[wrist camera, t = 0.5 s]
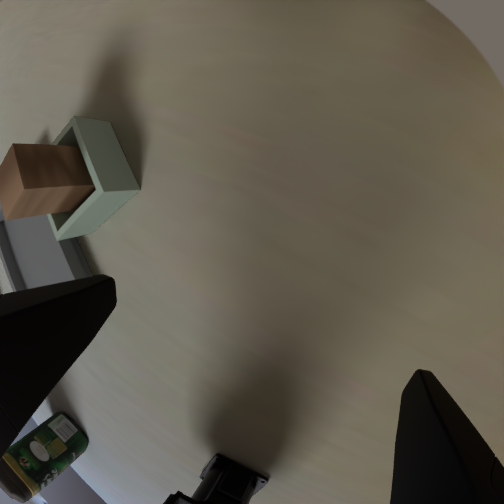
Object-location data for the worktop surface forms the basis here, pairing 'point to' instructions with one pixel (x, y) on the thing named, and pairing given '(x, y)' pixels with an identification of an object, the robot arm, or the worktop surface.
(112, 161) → the mint green open box
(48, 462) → the coffee jar
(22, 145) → the square block
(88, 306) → the robot arm
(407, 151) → the worktop surface
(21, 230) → the tray
